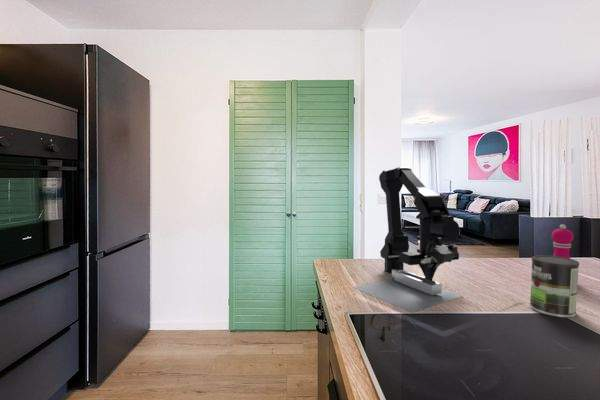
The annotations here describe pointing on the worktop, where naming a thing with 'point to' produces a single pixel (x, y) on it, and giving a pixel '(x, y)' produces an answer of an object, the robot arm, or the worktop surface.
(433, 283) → the bar
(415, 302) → the label board
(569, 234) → the pepper mill
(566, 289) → the coffee can
